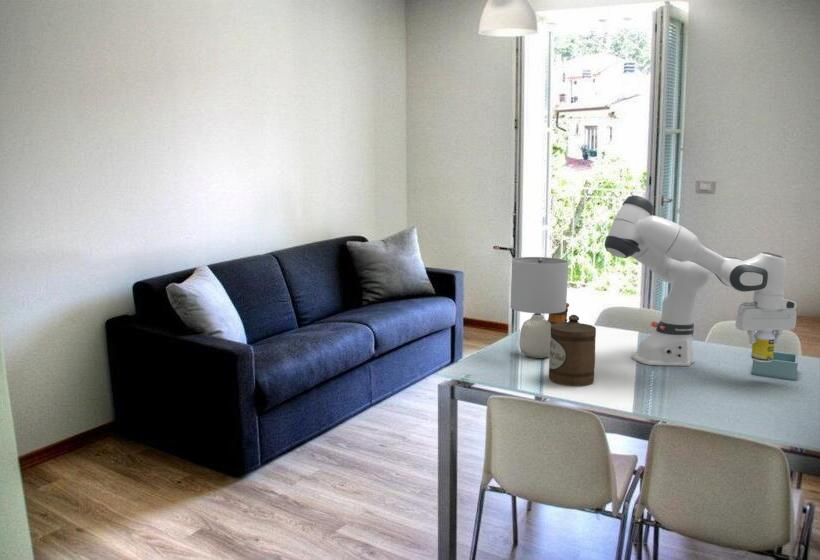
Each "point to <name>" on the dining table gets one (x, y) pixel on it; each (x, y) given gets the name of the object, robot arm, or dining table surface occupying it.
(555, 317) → the mug
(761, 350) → the pill bottle
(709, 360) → the dining table surface
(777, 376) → the caddy
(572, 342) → the wooden container
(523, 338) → the lamp
